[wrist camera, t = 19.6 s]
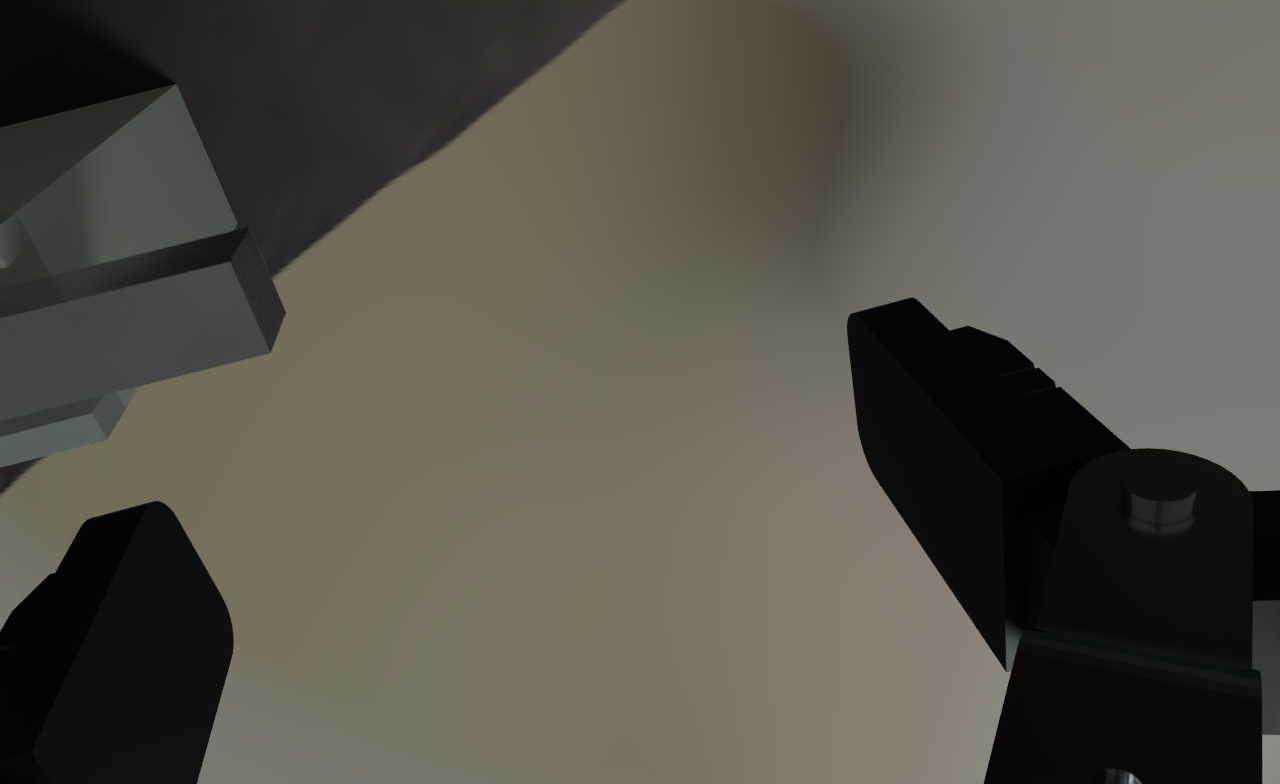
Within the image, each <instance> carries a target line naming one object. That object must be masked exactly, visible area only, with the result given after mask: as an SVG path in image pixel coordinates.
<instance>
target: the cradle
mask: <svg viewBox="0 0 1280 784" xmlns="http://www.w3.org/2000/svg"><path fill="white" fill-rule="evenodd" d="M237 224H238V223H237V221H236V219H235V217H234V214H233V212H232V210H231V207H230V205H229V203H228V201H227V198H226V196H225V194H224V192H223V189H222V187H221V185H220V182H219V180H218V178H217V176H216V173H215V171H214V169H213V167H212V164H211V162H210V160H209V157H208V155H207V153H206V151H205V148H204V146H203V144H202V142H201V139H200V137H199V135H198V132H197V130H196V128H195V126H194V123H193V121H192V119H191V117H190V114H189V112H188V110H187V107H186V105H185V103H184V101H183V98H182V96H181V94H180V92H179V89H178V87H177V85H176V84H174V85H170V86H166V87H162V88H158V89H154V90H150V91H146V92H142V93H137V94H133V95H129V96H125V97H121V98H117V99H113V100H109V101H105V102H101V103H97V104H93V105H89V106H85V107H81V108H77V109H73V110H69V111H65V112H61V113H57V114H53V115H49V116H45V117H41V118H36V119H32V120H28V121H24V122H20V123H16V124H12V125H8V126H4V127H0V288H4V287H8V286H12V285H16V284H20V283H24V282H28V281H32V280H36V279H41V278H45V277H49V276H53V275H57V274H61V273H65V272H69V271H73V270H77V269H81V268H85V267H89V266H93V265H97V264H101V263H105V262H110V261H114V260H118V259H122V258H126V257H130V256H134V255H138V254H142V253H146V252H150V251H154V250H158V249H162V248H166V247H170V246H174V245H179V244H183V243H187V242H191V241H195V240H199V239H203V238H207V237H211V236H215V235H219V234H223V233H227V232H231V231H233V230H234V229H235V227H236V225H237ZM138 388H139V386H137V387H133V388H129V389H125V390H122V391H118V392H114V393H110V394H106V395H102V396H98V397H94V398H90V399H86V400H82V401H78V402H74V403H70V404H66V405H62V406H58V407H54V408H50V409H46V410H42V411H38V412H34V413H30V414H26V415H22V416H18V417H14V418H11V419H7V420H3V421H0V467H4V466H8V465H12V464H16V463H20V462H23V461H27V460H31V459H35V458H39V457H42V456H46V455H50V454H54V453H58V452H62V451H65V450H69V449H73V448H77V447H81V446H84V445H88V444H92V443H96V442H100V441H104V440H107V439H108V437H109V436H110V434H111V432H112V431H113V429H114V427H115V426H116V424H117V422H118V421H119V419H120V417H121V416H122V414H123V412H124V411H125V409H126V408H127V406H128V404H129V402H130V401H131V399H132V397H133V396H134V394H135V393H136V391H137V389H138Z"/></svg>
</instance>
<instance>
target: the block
mask: <svg viewBox="0 0 1280 784" xmlns="http://www.w3.org/2000/svg"><path fill="white" fill-rule="evenodd" d="M285 314H286V311H285V309H284V307H283V305H282V302H281V300H280V298H279V295H278V293H277V290H276V288H275V286H274V283H273V281H272V279H271V276H270V274H269V272H268V269H267V267H266V264H265V262H264V260H263V257H262V255H261V253H260V250H259V248H258V246H257V243H256V241H255V239H254V236H253V234H252V232H251V229H250V227H248V228H243V229H239V230H235V231H231V232H227V233H223V234H219V235H215V236H211V237H207V238H203V239H199V240H195V241H191V242H187V243H183V244H179V245H174V246H170V247H166V248H162V249H158V250H154V251H150V252H146V253H142V254H138V255H134V256H130V257H126V258H122V259H118V260H114V261H110V262H105V263H101V264H97V265H93V266H89V267H85V268H81V269H77V270H73V271H69V272H65V273H61V274H57V275H53V276H49V277H45V278H41V279H36V280H32V281H28V282H24V283H20V284H16V285H12V286H8V287H4V288H0V421H3V420H7V419H11V418H14V417H18V416H22V415H26V414H30V413H34V412H38V411H42V410H46V409H50V408H54V407H58V406H62V405H66V404H70V403H74V402H78V401H82V400H86V399H90V398H94V397H98V396H102V395H106V394H110V393H114V392H118V391H122V390H125V389H129V388H133V387H137V386H141V385H145V384H149V383H153V382H157V381H161V380H165V379H169V378H173V377H177V376H181V375H185V374H189V373H193V372H197V371H201V370H205V369H209V368H212V367H216V366H220V365H225V364H229V363H232V362H236V361H240V360H244V359H248V358H252V357H256V356H260V355H264V354H268V353H271V350H272V348H273V345H274V343H275V340H276V337H277V335H278V332H279V329H280V327H281V324H282V322H283V319H284V316H285Z"/></svg>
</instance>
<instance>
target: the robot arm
mask: <svg viewBox="0 0 1280 784" xmlns="http://www.w3.org/2000/svg"><path fill="white" fill-rule="evenodd" d="M847 335H848V345H849V353H850V362H851V371H852V380H853V389H854V399H855V408H856V415H857V425H858V431H859V436H860V440H861V444H862V447H863V451H864V454H865V457H866V460H867V462H868V464H869V467H870V469H871V471H872V473H873V475H874V476H875V478H876V480H877V481H878V483H879V484H880V486H881V487H882V488H883V490H884V492H885V493H886V494H887V496H888V497H889V499H890V500H891V502H892V503H893V505H894V506H895V508H896V509H897V511H898V512H899V514H900V515H901V517H902V518H903V519H904V521H905V523H906V524H907V526H908V527H909V528H910V530H911V532H912V533H913V534H914V536H915V537H916V539H917V540H918V542H919V543H920V544H921V546H922V548H923V549H924V551H925V552H926V554H927V555H928V557H929V558H930V559H931V561H932V563H933V564H934V565H935V567H936V568H937V570H938V572H939V573H940V574H941V576H942V577H943V579H944V580H945V582H946V583H947V585H948V586H949V588H950V589H951V591H952V592H953V594H954V595H955V597H956V598H957V600H958V601H959V603H960V604H961V605H962V607H963V609H964V610H965V611H966V613H967V614H968V616H969V617H970V619H971V620H972V622H973V623H974V625H975V626H976V628H977V629H978V630H979V632H980V634H981V635H982V637H983V638H984V640H985V641H986V643H987V644H988V646H989V647H990V649H991V650H992V652H993V653H994V654H995V656H996V657H997V659H998V660H999V662H1000V663H1001V665H1002V666H1003V668H1004V669H1005V671H1006V672H1009V671H1011V675H1010V679H1009V683H1008V687H1007V691H1006V695H1005V700H1004V704H1003V708H1002V712H1001V716H1000V719H999V724H998V728H997V732H996V736H995V740H994V744H993V748H992V752H991V756H990V760H989V764H988V768H987V772H986V776H985V781H984V784H1262V735H1265V734H1266V735H1267V734H1268V735H1280V490H1277V491H1248V489H1247V488H1246V487H1245V485H1244V484H1243V483H1242V482H1241V480H1239V479H1238V478H1237V477H1236V476H1235V475H1233V474H1232V473H1231V472H1230V471H1228V470H1226V469H1225V468H1223V467H1222V466H1220V465H1218V464H1216V463H1213V462H1211V461H1209V460H1207V459H1204V458H1201V457H1198V456H1195V455H1192V454H1187V453H1183V452H1179V451H1172V450H1166V449H1150V448H1147V449H1130V448H1129V447H1128V446H1127V445H1126V444H1125V443H1124V442H1122V441H1121V440H1120V439H1119V438H1118V437H1117V436H1116V435H1114V434H1113V433H1112V432H1111V431H1110V430H1109V429H1108V428H1106V427H1105V426H1104V425H1103V424H1102V423H1101V422H1100V421H1099V420H1097V419H1096V418H1095V417H1094V416H1093V415H1092V414H1090V413H1089V412H1088V411H1087V410H1086V409H1085V408H1084V407H1083V406H1081V405H1080V404H1079V403H1078V402H1077V401H1076V400H1075V399H1073V398H1072V397H1071V396H1070V395H1069V394H1068V393H1067V392H1065V391H1064V390H1063V389H1062V388H1061V387H1058V388H1056V386H1055V382H1054V381H1053V380H1052V379H1051V378H1049V376H1047V375H1046V374H1045V373H1044V372H1043V371H1041V369H1039V368H1036V369H1035V368H1034V363H1033V362H1031V361H1030V360H1029V359H1028V358H1027V357H1026V356H1025V355H1023V354H1022V353H1021V352H1020V351H1019V350H1018V349H1017V348H1015V347H1014V346H1013V345H1012V344H1011V343H1010V342H1009V341H1007V340H1005V339H1002V338H999V337H997V336H994V335H991V334H989V333H986V332H984V331H981V330H978V329H975V328H973V327H970V326H965V327H962V328H958V329H955V330H951V331H949V330H948V329H947V328H946V327H945V326H944V325H943V324H942V323H941V322H940V321H939V320H938V319H937V318H936V317H934V315H932V313H930V312H929V311H928V310H927V309H926V308H925V307H924V306H923V305H922V304H921V303H920V302H919V301H918V300H917V299H915V298H908V299H904V300H901V301H897V302H893V303H889V304H886V305H883V306H878V307H874V308H871V309H867V310H863V311H859V312H856V313H852V314H851V315H850V316H849V318H848V322H847ZM232 654H233V629H232V623H231V619H230V615H229V612H228V609H227V606H226V604H225V602H224V600H223V598H222V596H221V594H220V593H219V591H218V589H217V587H216V585H215V584H214V582H213V580H212V579H211V577H210V575H209V573H208V571H207V570H206V568H205V566H204V564H203V563H202V561H201V559H200V557H199V556H198V554H197V552H196V551H195V549H194V547H193V545H192V543H191V541H190V540H189V538H188V537H187V534H186V533H185V531H184V529H183V527H182V526H181V524H180V522H179V520H178V519H177V517H176V516H175V514H174V513H173V511H172V510H171V509H170V508H169V507H168V506H167V505H166V504H164V503H162V502H159V501H154V502H150V503H146V504H142V505H139V506H135V507H131V508H127V509H124V510H120V511H116V512H113V513H108V514H105V515H101V516H97V517H93V518H90V519H88V520H87V521H85V522H84V523H83V525H82V526H81V528H80V529H79V531H78V533H77V535H76V537H75V539H74V540H73V542H72V544H71V546H70V547H69V549H68V551H67V553H66V555H65V557H64V558H63V560H62V562H61V564H60V566H59V567H58V569H57V571H56V573H53V574H50V575H48V576H47V577H46V578H45V579H44V580H43V581H42V582H41V583H40V584H39V585H38V586H37V587H36V588H35V589H34V590H33V591H32V592H31V593H30V594H29V595H28V596H27V597H26V598H25V599H24V600H23V601H22V602H21V603H20V604H19V605H18V606H17V607H16V608H15V609H14V610H13V611H12V613H11V614H10V616H9V617H8V619H7V621H6V623H5V624H4V626H3V628H2V629H1V632H0V784H197V781H198V777H199V773H200V770H201V766H202V763H203V759H204V756H205V752H206V748H207V745H208V741H209V738H210V734H211V730H212V727H213V723H214V720H215V716H216V712H217V709H218V705H219V702H220V698H221V694H222V691H223V687H224V684H225V680H226V676H227V672H228V669H229V666H230V662H231V658H232Z"/></svg>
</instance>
